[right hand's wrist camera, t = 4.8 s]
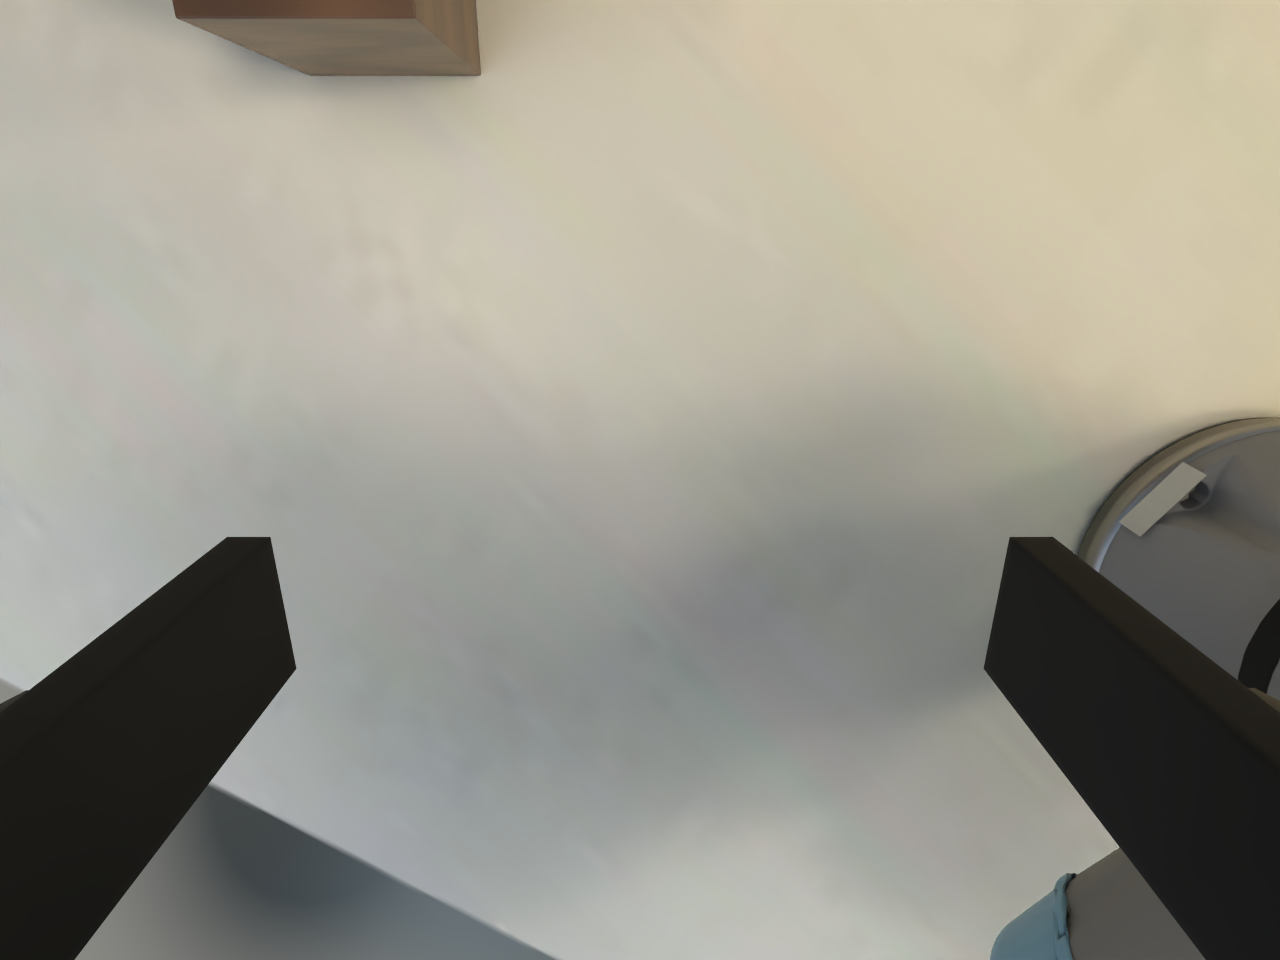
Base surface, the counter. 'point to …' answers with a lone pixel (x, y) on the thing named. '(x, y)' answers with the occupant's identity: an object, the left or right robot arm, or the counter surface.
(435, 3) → the walnut stand
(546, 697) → the counter surface
